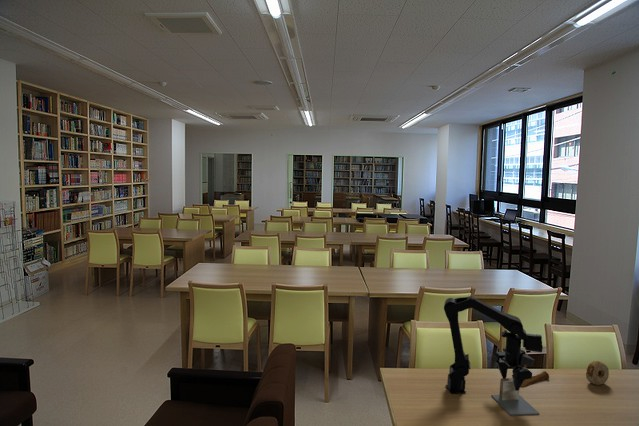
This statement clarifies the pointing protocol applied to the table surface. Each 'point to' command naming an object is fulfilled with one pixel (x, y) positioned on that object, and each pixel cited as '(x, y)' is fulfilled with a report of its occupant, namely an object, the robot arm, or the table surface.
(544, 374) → the primitive tool
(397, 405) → the table surface
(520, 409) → the mat
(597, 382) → the stone disc
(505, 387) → the tile
